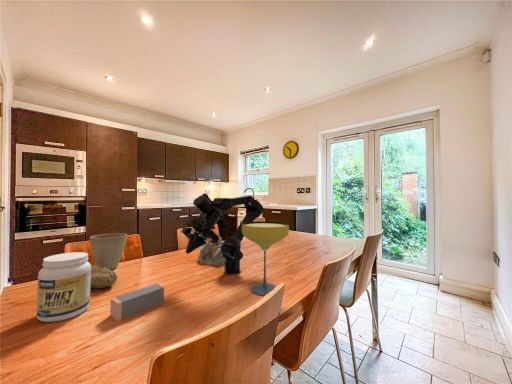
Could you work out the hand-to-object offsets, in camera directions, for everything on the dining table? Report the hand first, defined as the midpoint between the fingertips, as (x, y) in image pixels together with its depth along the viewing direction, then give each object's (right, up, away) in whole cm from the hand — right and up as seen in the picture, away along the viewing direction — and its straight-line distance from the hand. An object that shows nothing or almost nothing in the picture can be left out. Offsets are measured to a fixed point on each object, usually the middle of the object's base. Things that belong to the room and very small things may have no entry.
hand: (186, 253), depth 84 cm
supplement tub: (-31, -13, -18) cm, 38 cm away
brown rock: (-37, -14, +3) cm, 40 cm away
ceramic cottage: (+3, -15, +37) cm, 39 cm away
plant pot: (-45, -14, +22) cm, 52 cm away
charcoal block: (-6, -11, -9) cm, 16 cm away
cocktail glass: (+30, -14, 0) cm, 33 cm away
